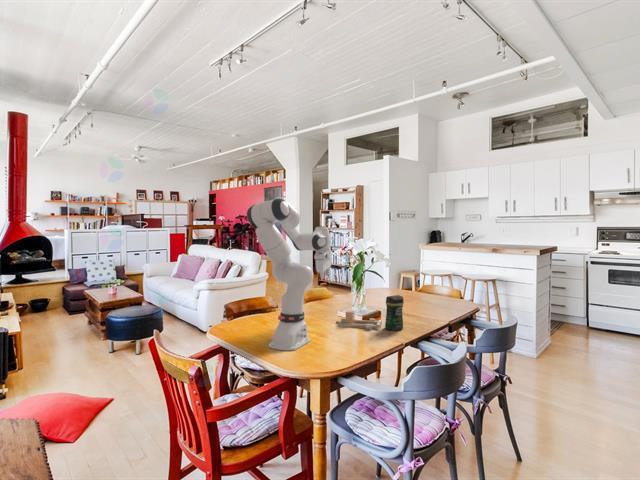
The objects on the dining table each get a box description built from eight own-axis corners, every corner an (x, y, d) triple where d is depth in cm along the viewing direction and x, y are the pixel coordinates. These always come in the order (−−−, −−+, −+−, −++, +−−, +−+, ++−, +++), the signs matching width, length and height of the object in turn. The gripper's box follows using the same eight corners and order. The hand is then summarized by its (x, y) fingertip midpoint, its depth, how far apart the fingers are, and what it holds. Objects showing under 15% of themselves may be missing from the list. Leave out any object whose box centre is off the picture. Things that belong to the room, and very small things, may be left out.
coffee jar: (392, 332, 193) (392, 298, 192) (382, 328, 200) (383, 295, 199) (405, 329, 198) (406, 296, 197) (396, 325, 205) (396, 293, 204)
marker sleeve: (352, 325, 203) (352, 312, 203) (345, 325, 205) (345, 311, 204) (354, 323, 208) (354, 310, 208) (347, 322, 209) (347, 309, 209)
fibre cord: (378, 326, 202) (378, 324, 202) (377, 327, 201) (377, 325, 201) (336, 323, 209) (336, 320, 209) (336, 323, 208) (336, 321, 208)
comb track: (378, 331, 195) (378, 325, 194) (336, 327, 202) (336, 321, 202) (382, 324, 207) (382, 319, 207) (342, 320, 215) (342, 315, 214)
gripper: (323, 251, 220) (324, 273, 221) (313, 256, 200) (314, 281, 202) (333, 251, 218) (334, 273, 220) (324, 256, 199) (325, 281, 200)
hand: (324, 277), depth 211 cm, fingers open, 8 cm apart
